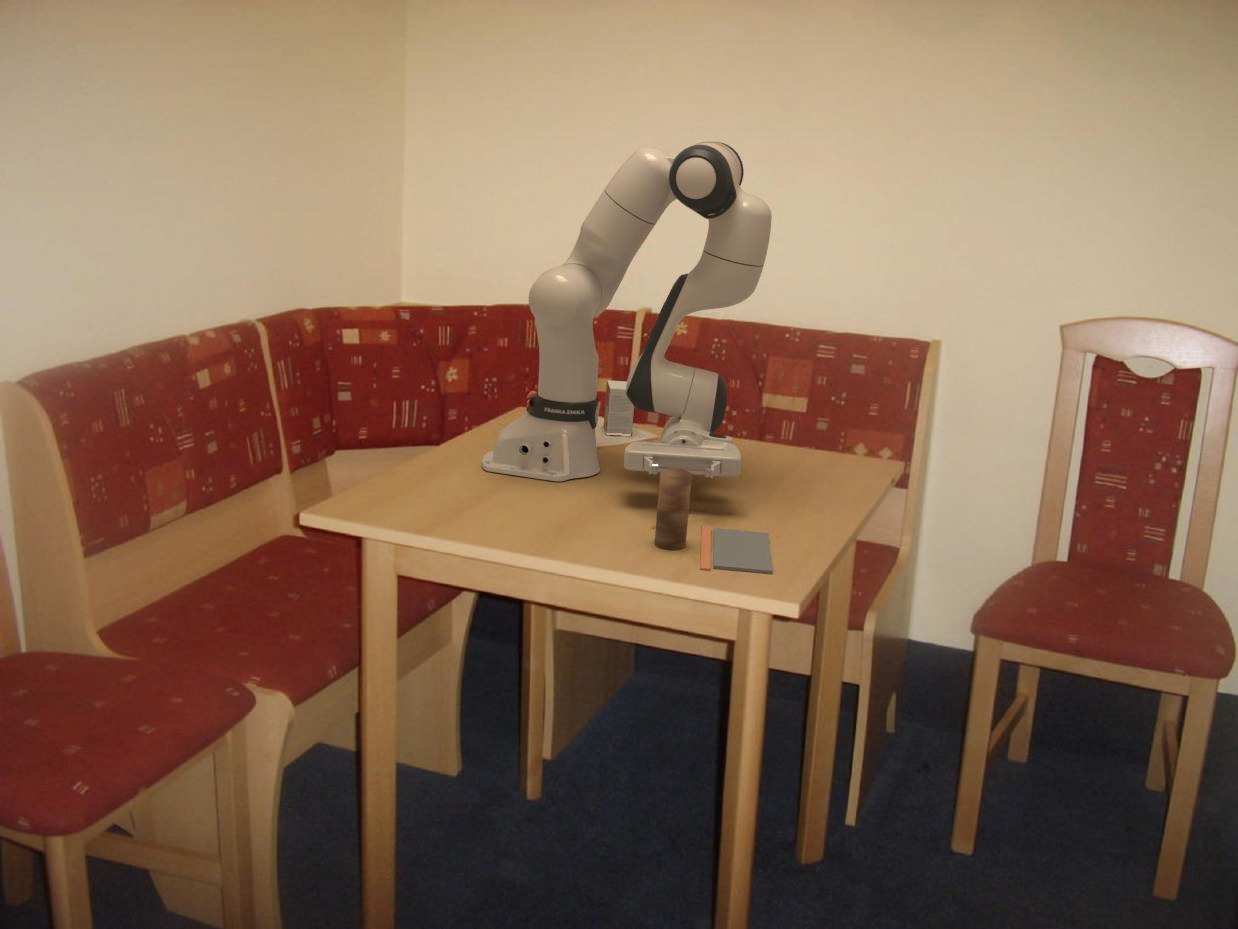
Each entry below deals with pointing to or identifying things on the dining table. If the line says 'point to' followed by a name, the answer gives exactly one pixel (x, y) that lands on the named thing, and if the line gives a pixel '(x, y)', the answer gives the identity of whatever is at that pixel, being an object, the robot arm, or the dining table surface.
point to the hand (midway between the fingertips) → (681, 471)
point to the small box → (618, 409)
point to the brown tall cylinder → (673, 509)
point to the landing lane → (736, 550)
